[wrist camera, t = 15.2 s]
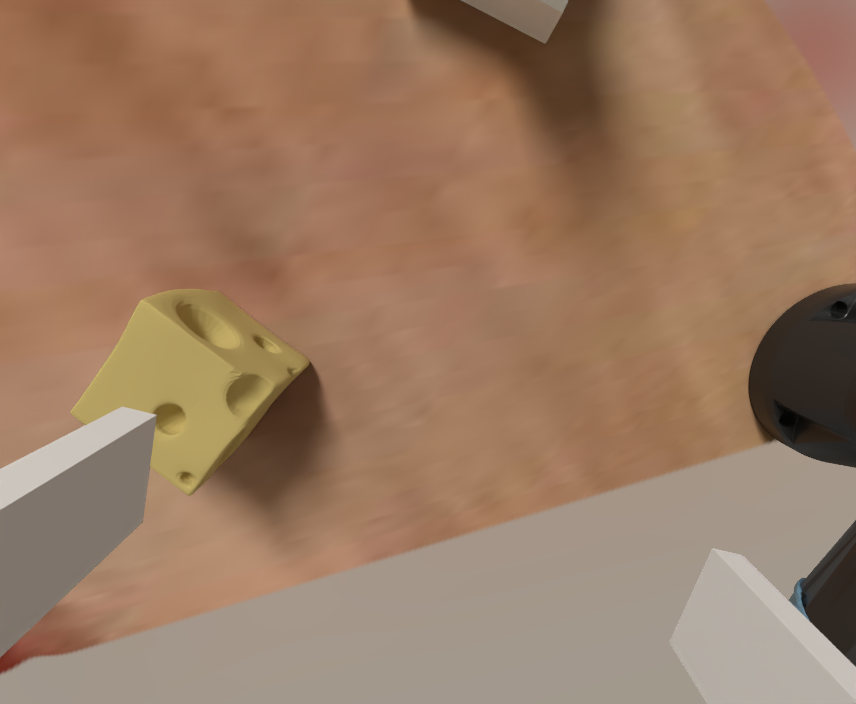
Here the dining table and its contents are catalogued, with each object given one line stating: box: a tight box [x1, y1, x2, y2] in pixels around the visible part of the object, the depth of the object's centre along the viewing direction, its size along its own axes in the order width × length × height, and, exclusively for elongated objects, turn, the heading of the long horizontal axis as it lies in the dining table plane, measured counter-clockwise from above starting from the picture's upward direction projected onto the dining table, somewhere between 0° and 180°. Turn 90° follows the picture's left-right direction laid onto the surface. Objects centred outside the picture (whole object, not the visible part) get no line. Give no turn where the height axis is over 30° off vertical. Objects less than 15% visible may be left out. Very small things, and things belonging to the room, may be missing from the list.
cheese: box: [71, 289, 310, 496], centre depth 35 cm, size 10×11×10 cm
